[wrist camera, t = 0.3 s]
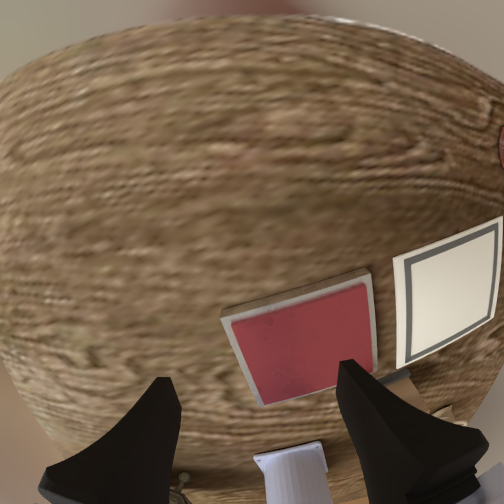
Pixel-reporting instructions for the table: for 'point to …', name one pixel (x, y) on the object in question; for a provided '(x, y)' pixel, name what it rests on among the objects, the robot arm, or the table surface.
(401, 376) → the stamp
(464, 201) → the table surface
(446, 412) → the decorative ornament
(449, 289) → the paper card
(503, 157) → the supplement bottle
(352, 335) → the ink pad
